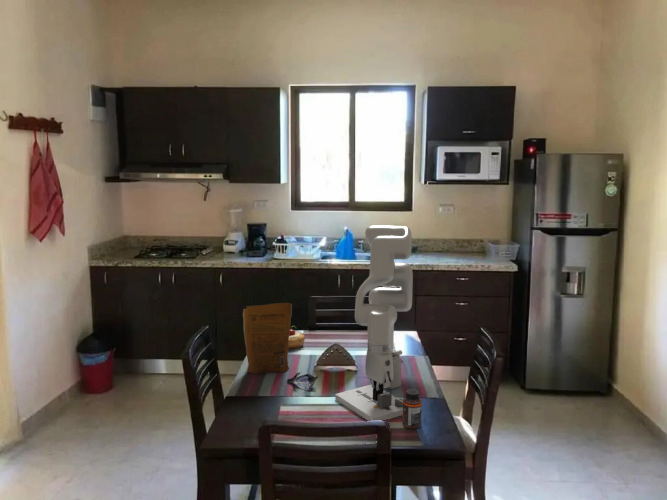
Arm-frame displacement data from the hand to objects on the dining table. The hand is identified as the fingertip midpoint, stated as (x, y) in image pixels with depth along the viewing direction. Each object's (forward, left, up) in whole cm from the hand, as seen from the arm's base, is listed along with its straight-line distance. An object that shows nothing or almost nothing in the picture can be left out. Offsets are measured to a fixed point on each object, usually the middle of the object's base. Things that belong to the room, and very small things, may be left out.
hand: (377, 399), depth 189 cm
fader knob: (0, +3, -1) cm, 4 cm away
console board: (0, -3, -3) cm, 5 cm away
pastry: (-7, -73, -4) cm, 73 cm away
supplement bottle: (-2, +15, -4) cm, 16 cm away
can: (-16, -13, -4) cm, 21 cm away
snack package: (+11, -32, -4) cm, 34 cm away
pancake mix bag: (+16, -50, -4) cm, 53 cm away
